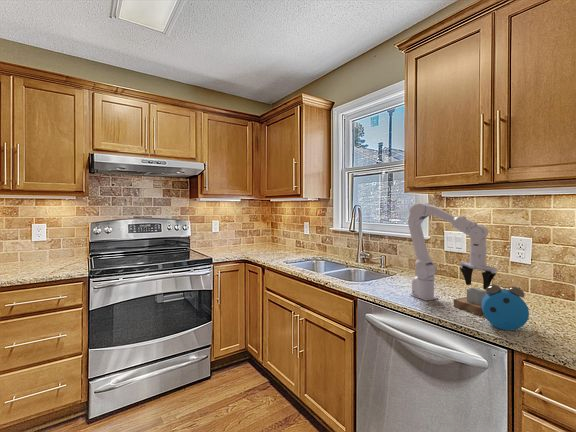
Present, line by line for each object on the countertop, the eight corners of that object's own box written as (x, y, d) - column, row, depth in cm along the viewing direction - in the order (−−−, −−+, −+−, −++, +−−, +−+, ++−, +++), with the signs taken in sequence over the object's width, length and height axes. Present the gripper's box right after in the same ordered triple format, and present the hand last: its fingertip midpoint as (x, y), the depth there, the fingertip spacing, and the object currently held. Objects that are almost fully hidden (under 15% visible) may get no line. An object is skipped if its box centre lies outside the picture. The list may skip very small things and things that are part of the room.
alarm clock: (523, 327, 110) (525, 285, 109) (529, 334, 104) (530, 290, 103) (480, 321, 115) (481, 281, 114) (483, 328, 110) (484, 286, 109)
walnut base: (453, 306, 132) (453, 299, 132) (472, 302, 137) (472, 295, 137) (481, 315, 121) (481, 308, 121) (500, 311, 126) (500, 304, 126)
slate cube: (466, 300, 130) (466, 289, 130) (474, 299, 132) (474, 287, 132) (478, 304, 126) (478, 292, 125) (486, 302, 128) (486, 290, 127)
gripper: (455, 252, 133) (454, 283, 134) (488, 258, 120) (488, 292, 121) (466, 251, 136) (465, 282, 137) (500, 256, 123) (499, 290, 123)
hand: (477, 286), depth 129 cm, fingers open, 7 cm apart
